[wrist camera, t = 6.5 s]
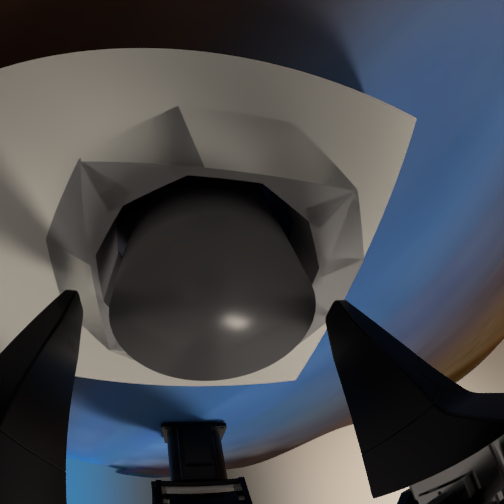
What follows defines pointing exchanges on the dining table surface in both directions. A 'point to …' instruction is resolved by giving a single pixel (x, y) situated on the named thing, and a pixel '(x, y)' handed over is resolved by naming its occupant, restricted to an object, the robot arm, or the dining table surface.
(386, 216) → the dining table surface
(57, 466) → the robot arm
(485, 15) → the dining table surface
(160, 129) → the board
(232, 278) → the cap
